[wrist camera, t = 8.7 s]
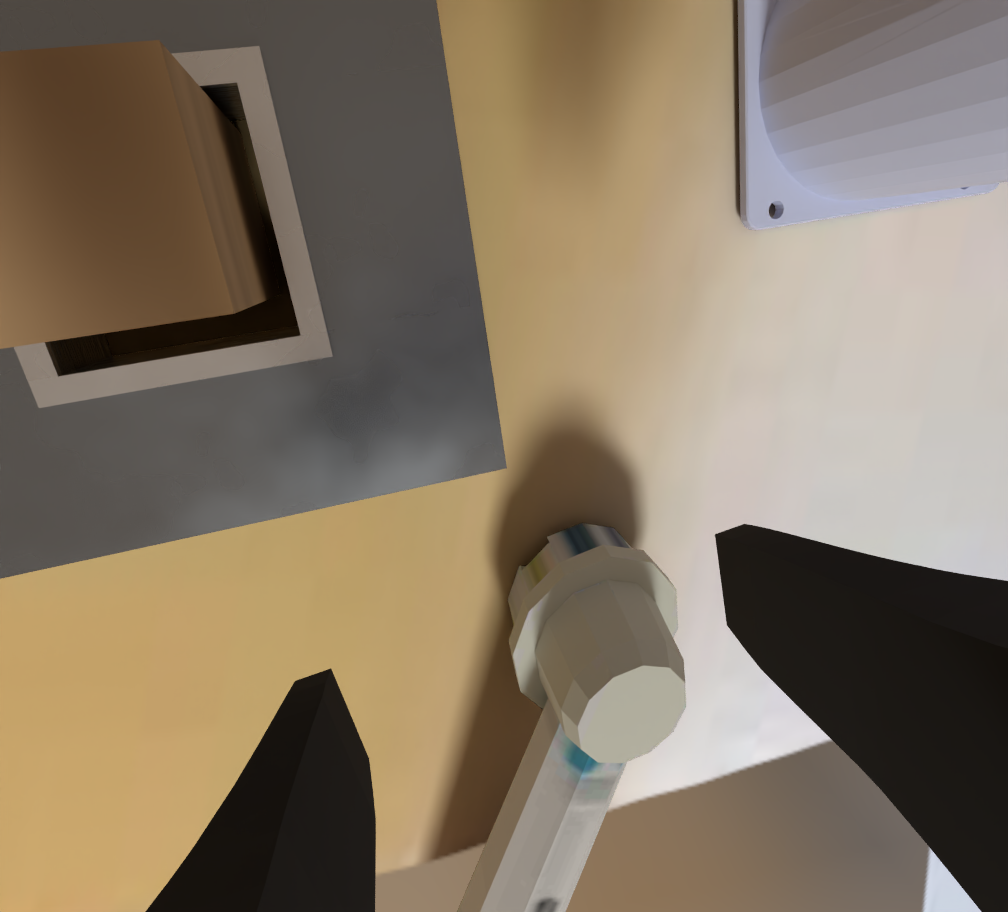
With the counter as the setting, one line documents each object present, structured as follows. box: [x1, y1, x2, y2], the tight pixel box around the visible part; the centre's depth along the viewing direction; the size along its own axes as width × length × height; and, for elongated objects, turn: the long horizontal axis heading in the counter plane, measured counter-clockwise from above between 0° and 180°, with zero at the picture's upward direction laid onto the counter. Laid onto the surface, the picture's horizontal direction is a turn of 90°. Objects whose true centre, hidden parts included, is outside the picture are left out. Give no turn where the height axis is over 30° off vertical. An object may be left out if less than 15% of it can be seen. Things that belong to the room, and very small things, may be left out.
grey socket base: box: [0, 0, 507, 578], centre depth 14 cm, size 14×14×3 cm
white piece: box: [457, 523, 686, 912], centre depth 22 cm, size 5×7×25 cm
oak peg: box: [0, 40, 281, 349], centre depth 13 cm, size 4×4×7 cm
